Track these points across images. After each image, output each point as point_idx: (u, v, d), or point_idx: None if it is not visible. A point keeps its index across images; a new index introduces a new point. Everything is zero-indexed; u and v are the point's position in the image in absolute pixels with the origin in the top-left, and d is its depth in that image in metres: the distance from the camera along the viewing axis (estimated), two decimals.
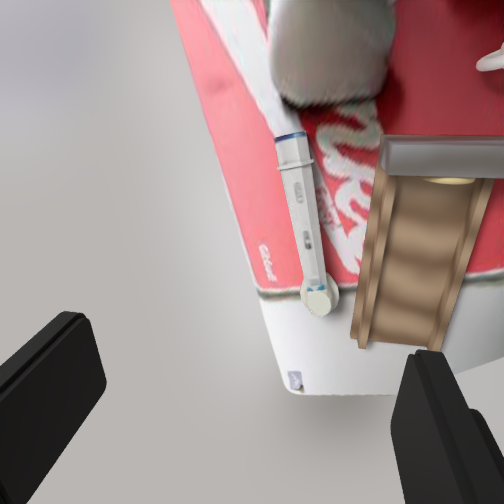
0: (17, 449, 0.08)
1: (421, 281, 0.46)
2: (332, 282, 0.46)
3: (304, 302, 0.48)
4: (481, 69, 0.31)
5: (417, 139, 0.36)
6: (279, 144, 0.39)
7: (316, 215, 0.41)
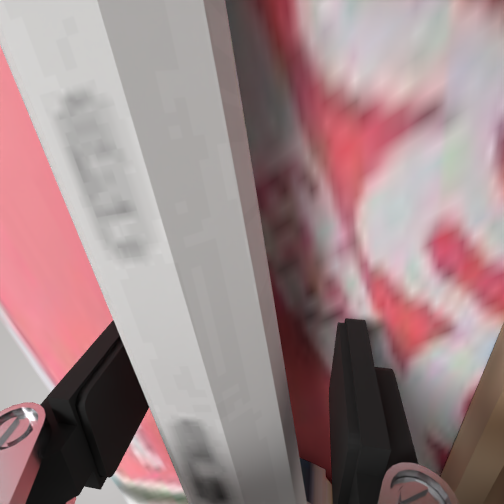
0: (109, 422, 0.08)
1: None
2: None
3: None
4: None
5: None
6: None
7: (255, 329, 0.07)
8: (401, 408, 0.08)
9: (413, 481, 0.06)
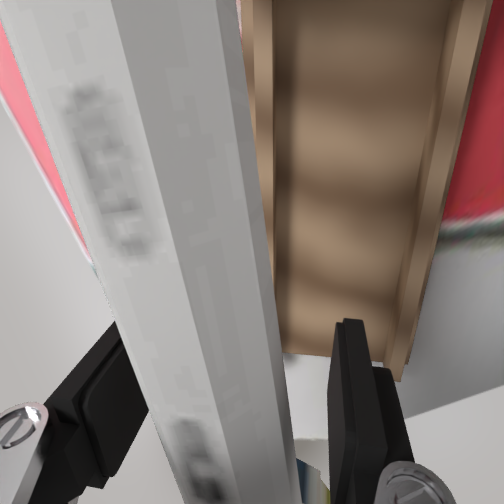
0: (111, 422, 0.08)
1: (360, 241, 0.24)
2: None
3: None
4: None
5: None
6: None
7: (257, 330, 0.07)
8: (398, 407, 0.08)
9: (409, 479, 0.06)
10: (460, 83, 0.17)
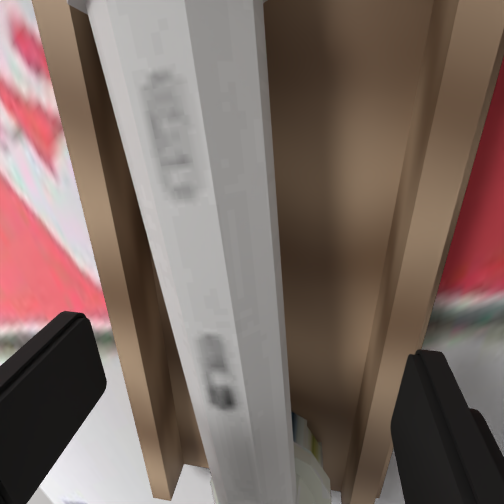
0: (17, 449, 0.08)
1: (295, 323, 0.14)
2: (314, 479, 0.14)
3: None
4: None
5: None
6: None
7: (267, 267, 0.09)
8: None
9: None
10: (485, 25, 0.07)
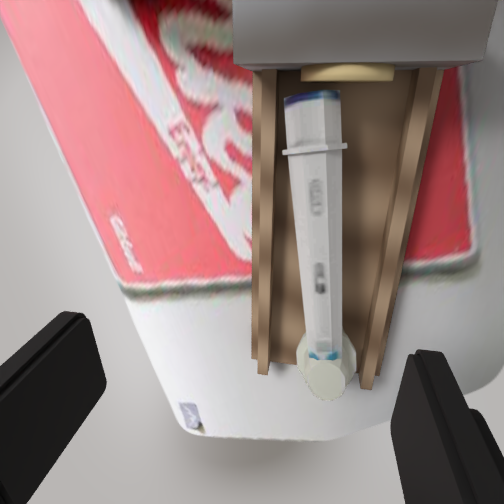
0: (17, 449, 0.08)
1: None
2: (348, 345, 0.29)
3: (301, 369, 0.31)
4: None
5: None
6: (292, 109, 0.22)
7: (340, 239, 0.25)
8: None
9: None
10: (411, 165, 0.23)
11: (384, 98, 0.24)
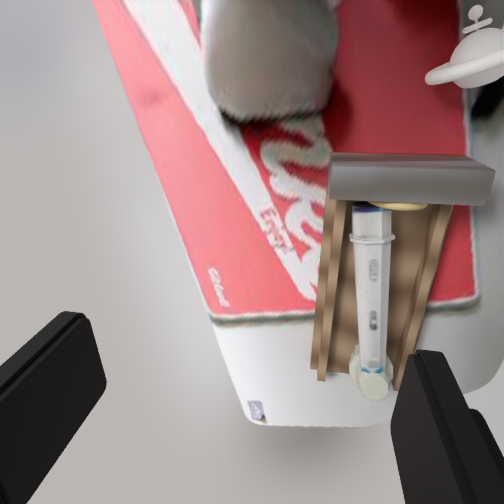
0: (17, 449, 0.08)
1: None
2: (388, 361, 0.42)
3: (352, 378, 0.43)
4: (428, 82, 0.28)
5: (364, 159, 0.32)
6: (359, 215, 0.34)
7: (387, 294, 0.36)
8: None
9: None
10: (436, 247, 0.35)
11: None
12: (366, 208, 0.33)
